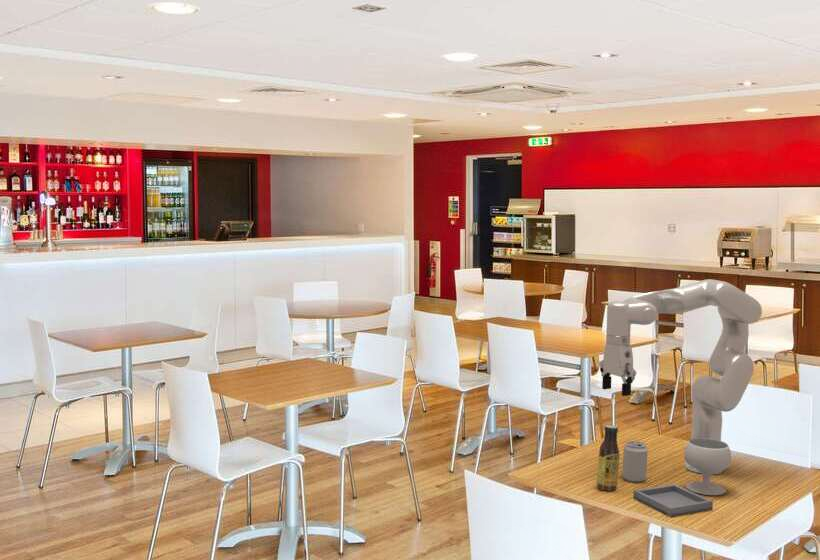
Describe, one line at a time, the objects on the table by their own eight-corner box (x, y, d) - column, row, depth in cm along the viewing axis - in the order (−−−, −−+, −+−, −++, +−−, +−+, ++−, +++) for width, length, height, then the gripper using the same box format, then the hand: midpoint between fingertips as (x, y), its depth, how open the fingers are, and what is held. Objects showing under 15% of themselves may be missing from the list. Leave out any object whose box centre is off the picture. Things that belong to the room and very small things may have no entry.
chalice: (704, 480, 280) (707, 435, 278) (738, 493, 267) (742, 446, 266) (672, 485, 273) (675, 439, 272) (705, 500, 261) (709, 451, 260)
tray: (673, 491, 268) (674, 484, 267) (712, 509, 253) (712, 501, 253) (633, 498, 261) (633, 490, 260) (670, 517, 246) (670, 508, 246)
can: (646, 484, 274) (648, 447, 273) (622, 482, 275) (624, 445, 274) (645, 476, 281) (647, 441, 280) (621, 474, 283) (623, 438, 282)
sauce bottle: (605, 493, 264) (608, 430, 262) (592, 486, 270) (595, 424, 268) (621, 490, 267) (625, 427, 265) (608, 484, 273) (611, 422, 271)
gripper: (645, 343, 271) (643, 396, 273) (610, 334, 287) (608, 385, 288) (626, 345, 268) (624, 399, 270) (591, 336, 283) (590, 387, 285)
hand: (616, 392), depth 279 cm, fingers open, 9 cm apart
